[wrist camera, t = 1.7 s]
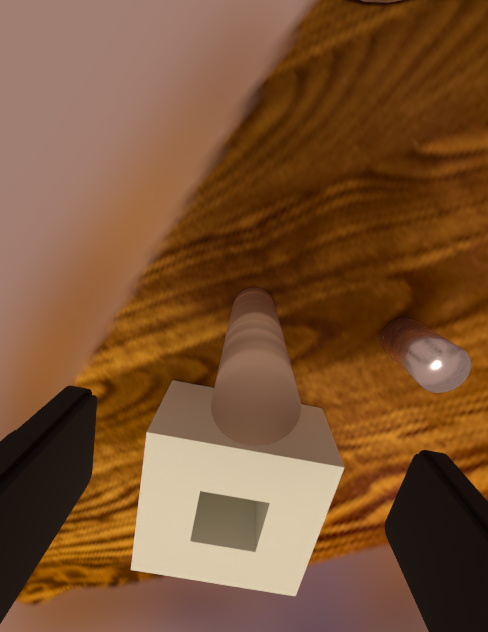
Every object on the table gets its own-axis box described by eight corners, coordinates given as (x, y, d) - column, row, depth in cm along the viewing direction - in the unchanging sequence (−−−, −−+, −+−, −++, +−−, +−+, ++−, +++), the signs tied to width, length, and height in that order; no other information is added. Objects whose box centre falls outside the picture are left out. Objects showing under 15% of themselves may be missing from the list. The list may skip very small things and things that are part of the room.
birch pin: (236, 283, 21) (219, 360, 9) (278, 291, 21) (311, 377, 10) (229, 323, 22) (204, 437, 10) (269, 331, 22) (289, 452, 10)
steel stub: (388, 313, 21) (428, 340, 17) (429, 321, 21) (480, 351, 17) (375, 351, 22) (408, 387, 17) (413, 359, 22) (457, 396, 18)
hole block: (172, 380, 23) (146, 432, 18) (322, 408, 24) (344, 467, 18) (156, 495, 27) (130, 569, 21) (286, 517, 27) (295, 596, 22)
